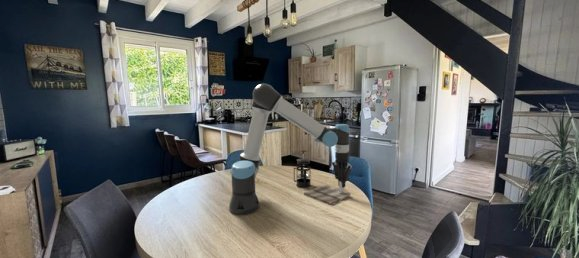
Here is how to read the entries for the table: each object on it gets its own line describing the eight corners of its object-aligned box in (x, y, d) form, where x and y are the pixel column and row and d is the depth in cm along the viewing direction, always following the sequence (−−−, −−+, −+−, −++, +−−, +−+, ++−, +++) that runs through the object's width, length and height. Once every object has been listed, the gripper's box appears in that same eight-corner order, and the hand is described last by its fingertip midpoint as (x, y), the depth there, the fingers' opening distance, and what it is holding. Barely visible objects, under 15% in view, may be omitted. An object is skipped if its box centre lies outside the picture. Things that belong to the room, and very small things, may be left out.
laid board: (303, 194, 142) (303, 192, 142) (312, 191, 147) (312, 188, 147) (330, 205, 127) (330, 202, 127) (339, 201, 132) (339, 198, 132)
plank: (314, 190, 147) (313, 188, 147) (323, 186, 153) (323, 184, 153) (340, 200, 132) (340, 198, 132) (350, 195, 138) (350, 192, 138)
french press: (309, 182, 163) (309, 148, 161) (313, 187, 154) (313, 151, 152) (292, 183, 162) (292, 149, 159) (295, 188, 152) (294, 152, 150)
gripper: (328, 150, 139) (328, 190, 142) (347, 154, 129) (347, 197, 132) (337, 149, 144) (336, 187, 146) (355, 152, 134) (355, 193, 136)
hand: (341, 192), depth 139 cm, fingers closed
